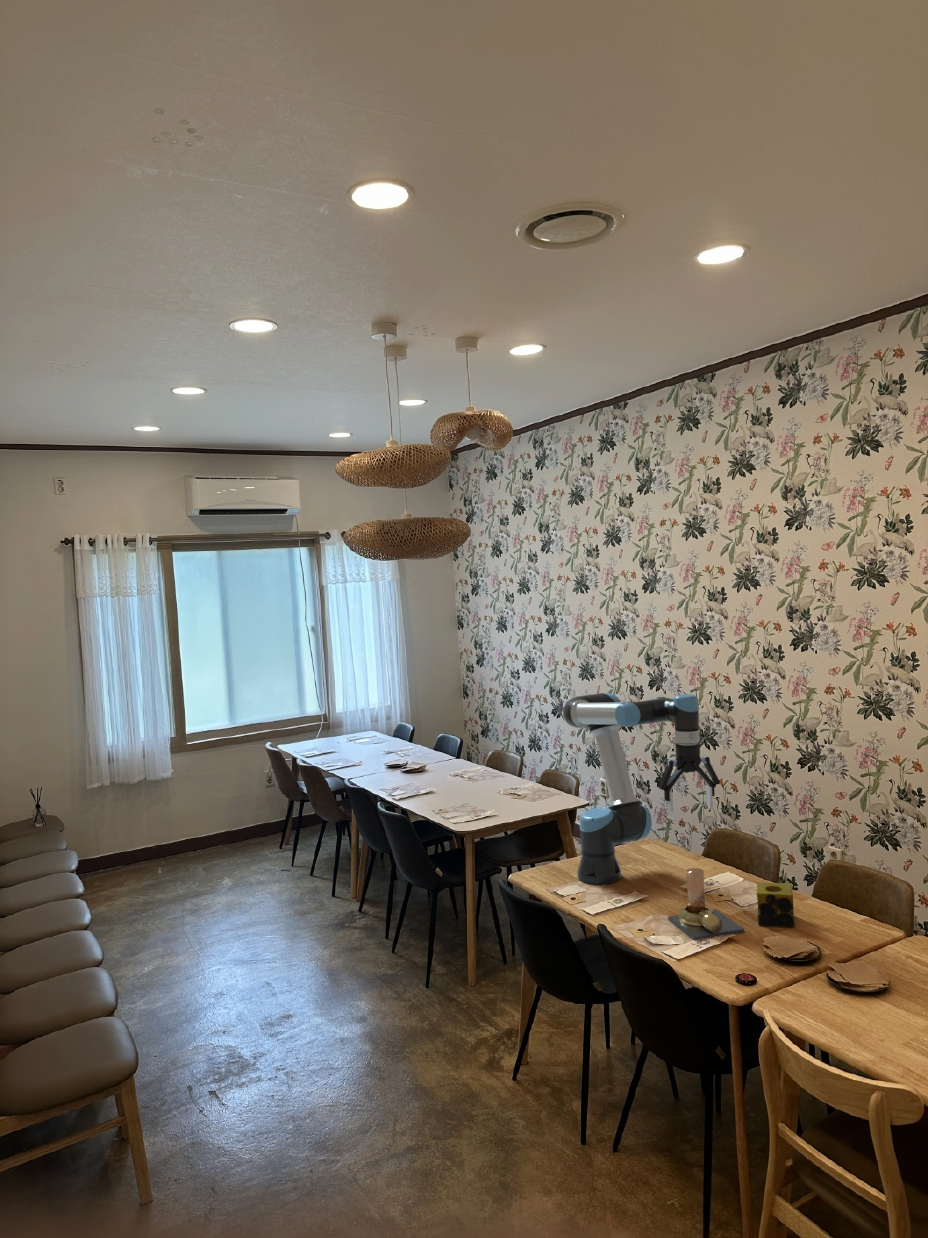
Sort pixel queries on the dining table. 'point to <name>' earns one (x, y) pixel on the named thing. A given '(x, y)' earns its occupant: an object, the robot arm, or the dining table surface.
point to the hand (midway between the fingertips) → (690, 808)
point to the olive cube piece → (775, 904)
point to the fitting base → (704, 931)
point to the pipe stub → (695, 890)
